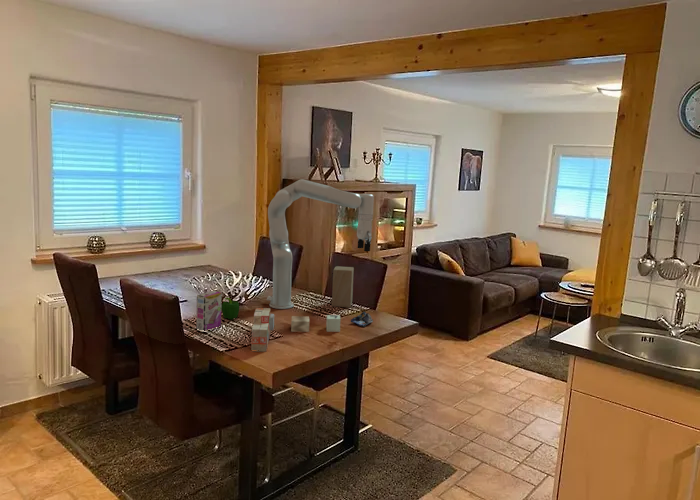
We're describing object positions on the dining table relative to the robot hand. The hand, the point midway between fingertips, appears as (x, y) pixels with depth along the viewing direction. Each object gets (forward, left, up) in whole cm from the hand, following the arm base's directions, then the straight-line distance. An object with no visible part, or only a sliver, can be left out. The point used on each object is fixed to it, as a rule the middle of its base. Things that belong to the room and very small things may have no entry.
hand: (363, 249), depth 286 cm
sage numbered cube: (+7, -46, -31) cm, 56 cm away
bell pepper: (-42, -58, -31) cm, 78 cm away
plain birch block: (-6, -54, -31) cm, 62 cm away
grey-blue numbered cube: (-19, -61, -31) cm, 71 cm away
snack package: (+15, -30, -31) cm, 45 cm away
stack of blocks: (-10, -79, -31) cm, 85 cm away
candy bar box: (-39, -77, -31) cm, 91 cm away
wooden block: (-9, -5, -31) cm, 32 cm away
